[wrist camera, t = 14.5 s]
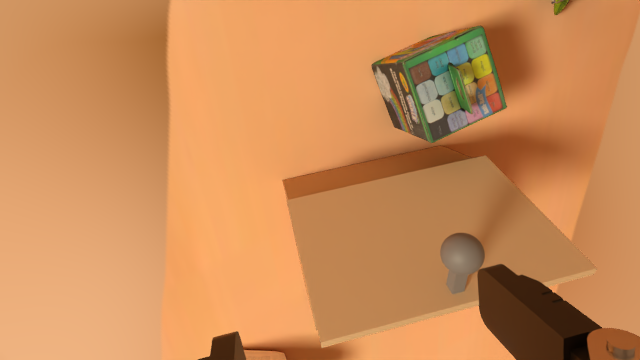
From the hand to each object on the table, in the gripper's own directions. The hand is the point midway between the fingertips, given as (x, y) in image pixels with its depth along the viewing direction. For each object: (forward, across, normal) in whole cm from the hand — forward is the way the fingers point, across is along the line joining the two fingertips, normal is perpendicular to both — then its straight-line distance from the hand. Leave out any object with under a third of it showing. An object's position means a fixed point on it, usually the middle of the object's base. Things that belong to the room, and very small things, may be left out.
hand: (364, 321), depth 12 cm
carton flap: (+21, -10, +9) cm, 25 cm away
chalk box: (+38, -18, -3) cm, 43 cm away
